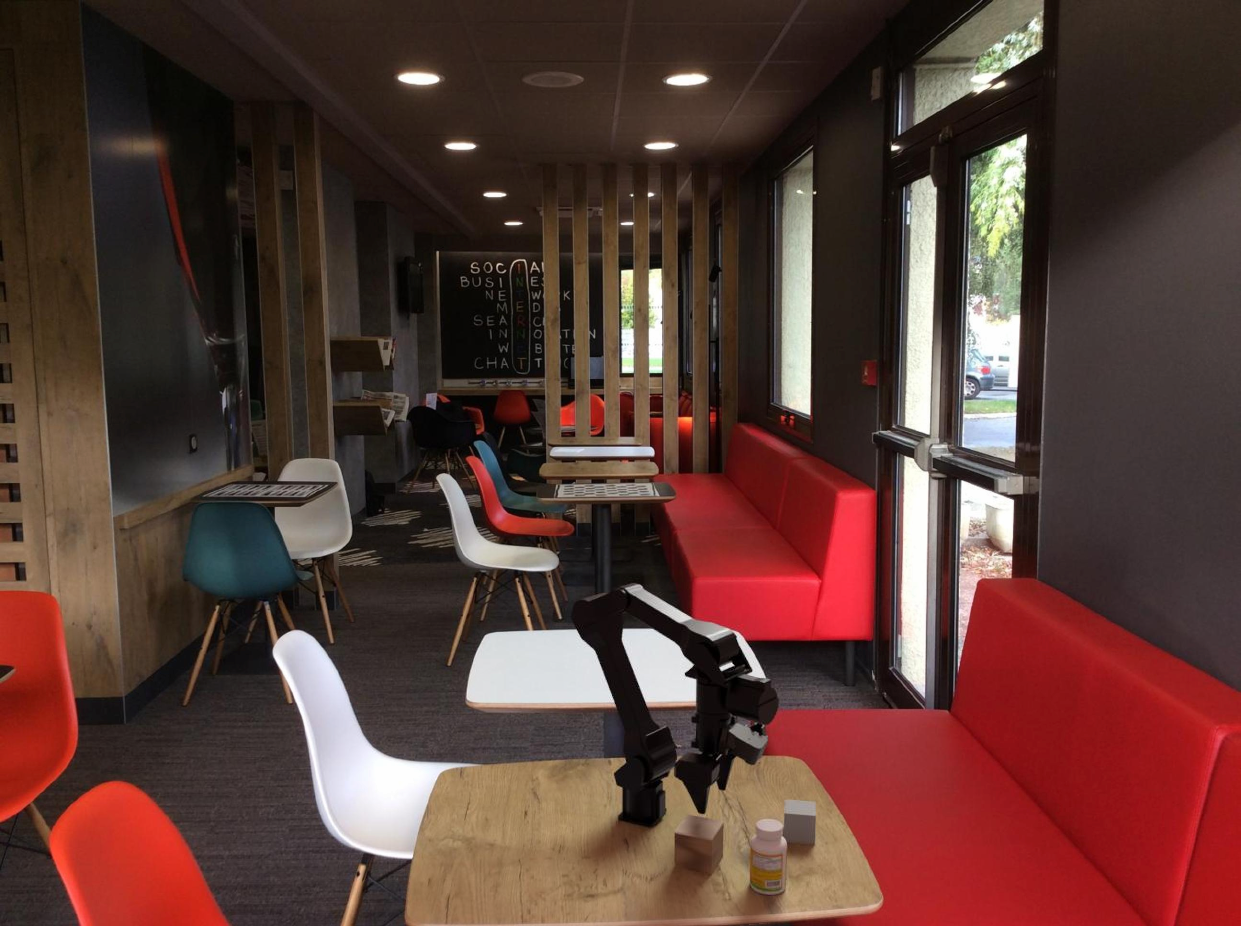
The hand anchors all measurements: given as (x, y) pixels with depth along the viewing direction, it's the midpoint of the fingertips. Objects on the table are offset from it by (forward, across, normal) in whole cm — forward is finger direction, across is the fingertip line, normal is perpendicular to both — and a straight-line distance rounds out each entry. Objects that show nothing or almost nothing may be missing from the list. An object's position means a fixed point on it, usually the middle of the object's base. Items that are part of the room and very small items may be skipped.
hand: (712, 801), depth 167 cm
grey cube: (+7, +9, -12) cm, 17 cm away
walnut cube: (+1, -6, 0) cm, 6 cm away
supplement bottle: (+7, -8, -12) cm, 16 cm away
